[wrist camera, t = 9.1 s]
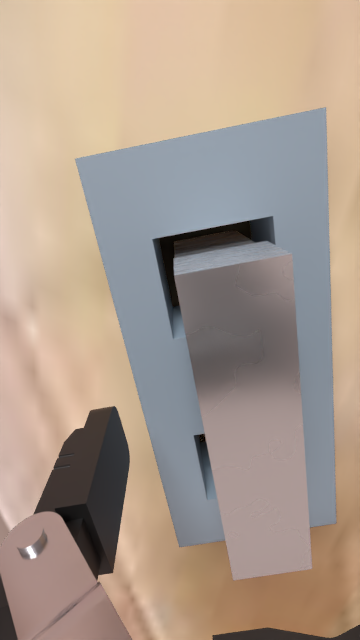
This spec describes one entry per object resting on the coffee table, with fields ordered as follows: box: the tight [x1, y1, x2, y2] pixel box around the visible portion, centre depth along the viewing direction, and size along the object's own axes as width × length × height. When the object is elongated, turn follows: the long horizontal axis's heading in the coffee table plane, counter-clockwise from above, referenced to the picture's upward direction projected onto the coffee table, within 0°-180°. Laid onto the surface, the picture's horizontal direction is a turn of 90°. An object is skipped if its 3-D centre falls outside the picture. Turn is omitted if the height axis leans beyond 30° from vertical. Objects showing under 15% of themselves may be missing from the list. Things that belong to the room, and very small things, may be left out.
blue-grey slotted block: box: [75, 107, 336, 547], centre depth 14 cm, size 7×16×4 cm, turn 11°
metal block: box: [174, 230, 312, 580], centre depth 12 cm, size 2×10×7 cm, turn 11°
